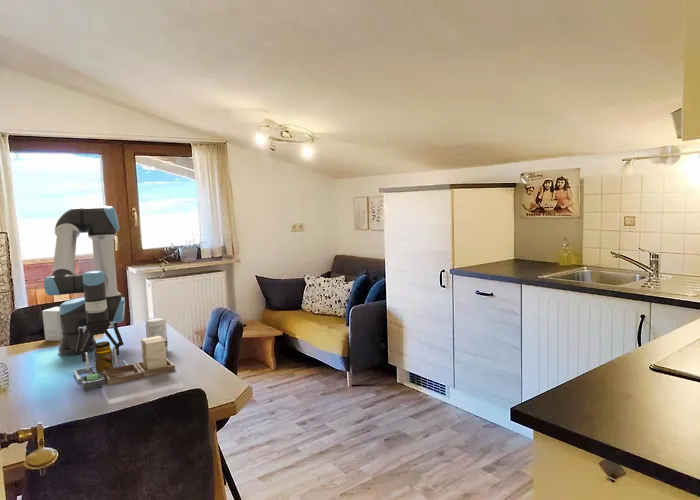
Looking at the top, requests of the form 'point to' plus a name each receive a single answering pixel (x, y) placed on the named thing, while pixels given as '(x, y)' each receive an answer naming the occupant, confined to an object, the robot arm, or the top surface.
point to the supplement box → (52, 324)
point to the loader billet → (153, 353)
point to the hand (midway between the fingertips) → (101, 366)
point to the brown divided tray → (133, 372)
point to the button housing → (92, 383)
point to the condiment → (103, 357)
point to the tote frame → (89, 370)
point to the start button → (92, 377)
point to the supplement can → (157, 329)
